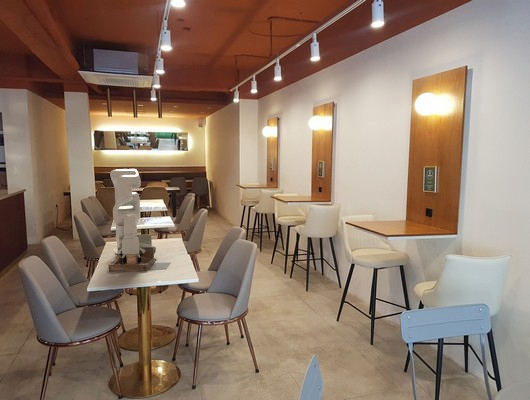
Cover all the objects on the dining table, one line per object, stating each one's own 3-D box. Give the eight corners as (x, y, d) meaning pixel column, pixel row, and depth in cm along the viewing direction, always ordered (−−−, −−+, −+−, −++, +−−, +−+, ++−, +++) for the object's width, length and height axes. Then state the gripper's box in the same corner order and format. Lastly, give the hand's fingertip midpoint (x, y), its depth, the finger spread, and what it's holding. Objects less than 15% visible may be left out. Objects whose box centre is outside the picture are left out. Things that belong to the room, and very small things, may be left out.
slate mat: (154, 263, 250) (154, 262, 249) (170, 262, 250) (170, 262, 250) (149, 269, 236) (149, 269, 236) (166, 269, 236) (166, 268, 236)
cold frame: (119, 262, 251) (117, 235, 249) (154, 261, 252) (152, 234, 250) (108, 271, 232) (106, 241, 230) (146, 270, 233) (144, 241, 231)
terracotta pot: (128, 265, 245) (127, 252, 244) (139, 265, 246) (138, 252, 245) (125, 268, 239) (124, 255, 238) (136, 268, 239) (135, 255, 238)
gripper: (114, 237, 236) (115, 265, 238) (143, 236, 236) (144, 265, 238) (118, 234, 243) (119, 262, 245) (146, 234, 244) (148, 261, 246)
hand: (132, 263), depth 242 cm, fingers open, 8 cm apart
